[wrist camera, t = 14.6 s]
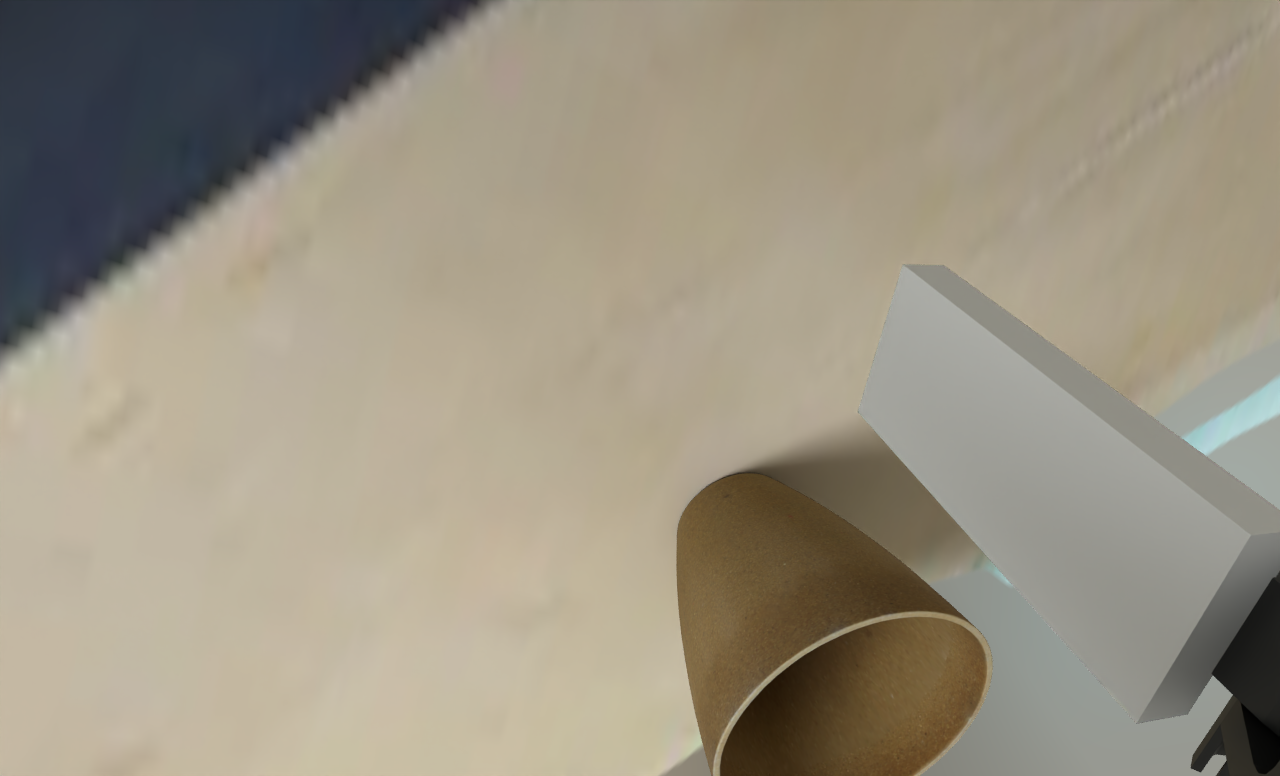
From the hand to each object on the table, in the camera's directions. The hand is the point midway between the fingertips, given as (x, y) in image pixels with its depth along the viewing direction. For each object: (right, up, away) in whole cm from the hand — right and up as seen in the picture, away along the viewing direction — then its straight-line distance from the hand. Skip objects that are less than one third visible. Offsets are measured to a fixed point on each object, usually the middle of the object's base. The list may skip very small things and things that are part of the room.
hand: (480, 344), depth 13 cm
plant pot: (+8, -9, +44) cm, 46 cm away
